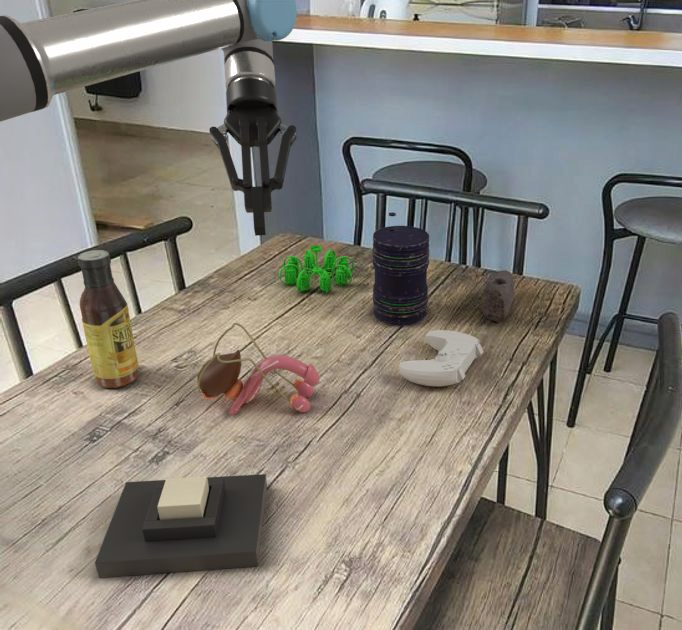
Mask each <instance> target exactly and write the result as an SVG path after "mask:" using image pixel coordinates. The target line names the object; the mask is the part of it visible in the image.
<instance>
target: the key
mask: <svg viewBox="0 0 682 630" xmlns="http://www.w3.org/2000/svg"><path fill="white" fill-rule="evenodd" d="M207 477H208V476H207V475H204V476H186V477H184V476H183V477H169V478H168V477H167V478H165V480H166V481H165V484H164V487H163V490H162V494H161V497H160V500H159V503H158V506H157V507H158V512H159V517H160V520H172V519H187V518H203V515H204V511H205V506H206V502H207V497H208V493H209V485H208V479H207Z"/></svg>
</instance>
